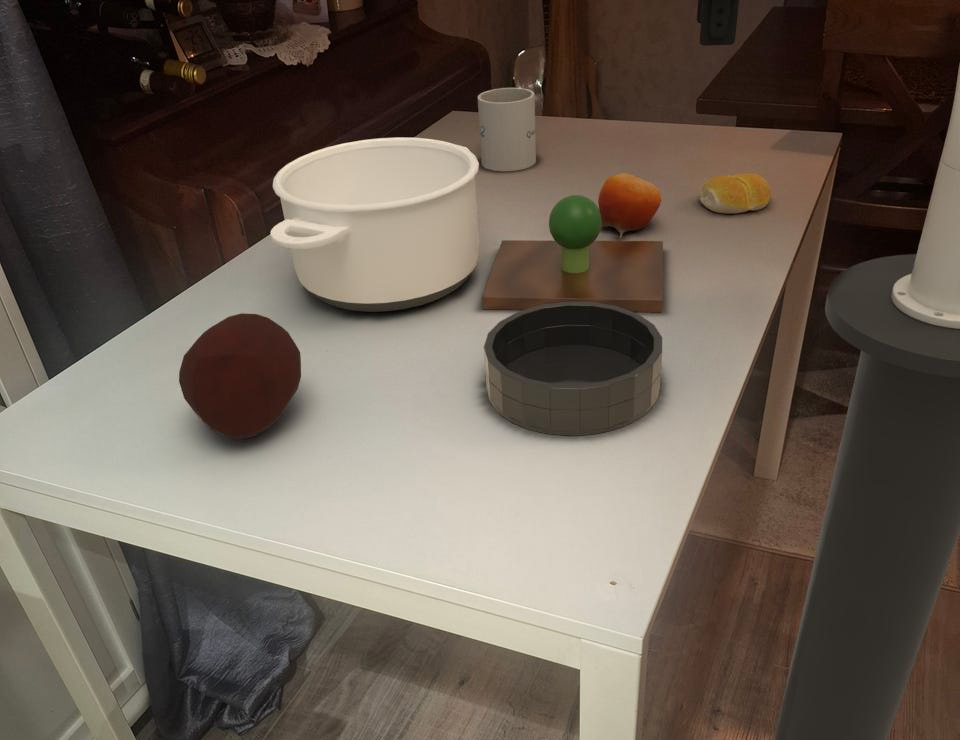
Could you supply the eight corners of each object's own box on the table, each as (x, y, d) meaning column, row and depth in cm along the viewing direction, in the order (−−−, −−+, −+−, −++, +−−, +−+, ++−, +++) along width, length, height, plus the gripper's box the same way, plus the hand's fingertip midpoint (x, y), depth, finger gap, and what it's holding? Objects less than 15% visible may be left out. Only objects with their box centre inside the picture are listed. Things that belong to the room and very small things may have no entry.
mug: (525, 173, 136) (523, 104, 130) (473, 169, 139) (469, 102, 133) (550, 147, 145) (549, 82, 139) (501, 144, 148) (498, 80, 142)
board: (662, 252, 110) (663, 240, 109) (661, 312, 98) (662, 300, 97) (502, 251, 114) (501, 240, 113) (482, 309, 101) (481, 297, 100)
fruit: (574, 222, 116) (596, 160, 114) (608, 236, 122) (630, 177, 120) (621, 237, 111) (645, 173, 109) (654, 251, 117) (678, 191, 115)
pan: (659, 347, 92) (662, 302, 89) (658, 439, 79) (662, 391, 76) (500, 343, 95) (498, 300, 92) (474, 432, 82) (471, 385, 79)
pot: (391, 363, 93) (373, 238, 84) (226, 321, 103) (195, 205, 94) (538, 244, 115) (535, 135, 106) (390, 219, 125) (377, 117, 116)
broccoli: (602, 257, 107) (603, 187, 102) (599, 279, 102) (600, 206, 97) (552, 257, 108) (551, 187, 103) (547, 278, 103) (545, 206, 98)
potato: (317, 381, 91) (298, 287, 85) (303, 457, 80) (280, 356, 74) (209, 389, 91) (182, 296, 85) (180, 466, 80) (147, 366, 74)
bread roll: (780, 208, 119) (785, 178, 117) (720, 219, 117) (724, 189, 115) (747, 188, 125) (751, 159, 123) (690, 199, 124) (692, 170, 121)
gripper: (789, -184, 70) (761, 53, 80) (769, -190, 83) (747, 13, 94) (691, -177, 71) (676, 55, 81) (687, -184, 84) (674, 16, 95)
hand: (714, 32), depth 87 cm, fingers open, 9 cm apart
